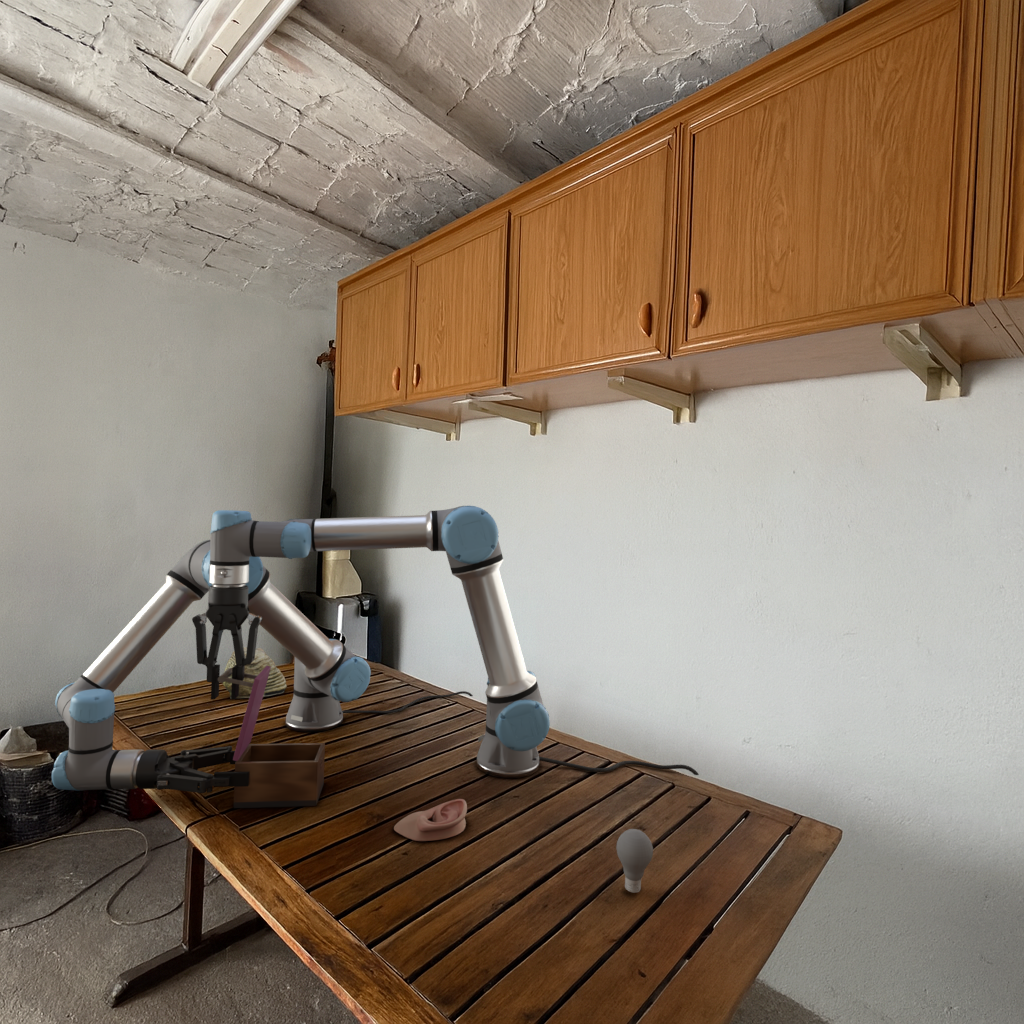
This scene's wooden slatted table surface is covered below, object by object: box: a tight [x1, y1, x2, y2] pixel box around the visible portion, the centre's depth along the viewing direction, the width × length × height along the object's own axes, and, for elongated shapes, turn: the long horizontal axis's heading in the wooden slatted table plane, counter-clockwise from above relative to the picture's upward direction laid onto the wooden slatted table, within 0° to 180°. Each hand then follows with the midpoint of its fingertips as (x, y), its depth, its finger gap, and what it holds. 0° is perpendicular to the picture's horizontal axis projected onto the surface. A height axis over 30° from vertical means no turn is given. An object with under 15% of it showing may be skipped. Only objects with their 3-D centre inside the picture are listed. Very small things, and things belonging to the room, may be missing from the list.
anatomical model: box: [393, 798, 468, 842], centre depth 123 cm, size 13×4×12 cm
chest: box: [232, 742, 326, 809], centre depth 133 cm, size 16×10×9 cm, turn 98°
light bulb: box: [615, 828, 654, 894], centre depth 106 cm, size 6×6×10 cm
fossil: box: [222, 646, 288, 699], centre depth 198 cm, size 9×18×15 cm, turn 132°
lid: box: [218, 666, 271, 761], centre depth 132 cm, size 17×10×8 cm
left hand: (255, 767), depth 133 cm, fingers closed on chest, 10 cm apart
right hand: (224, 697), depth 131 cm, fingers open, 3 cm apart
